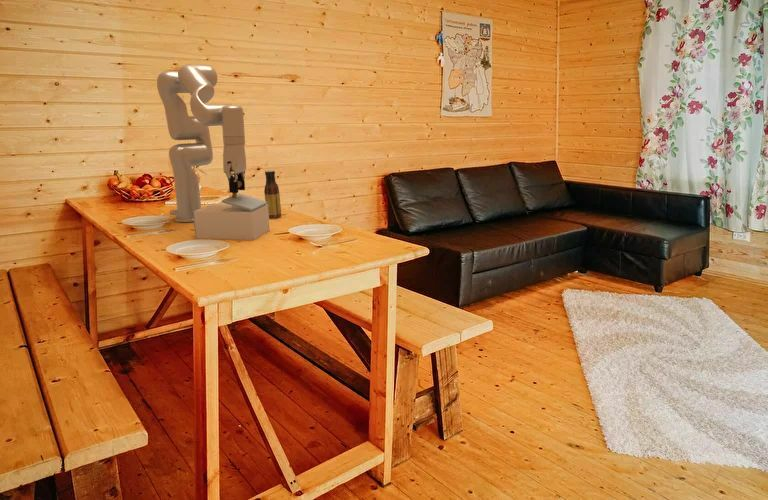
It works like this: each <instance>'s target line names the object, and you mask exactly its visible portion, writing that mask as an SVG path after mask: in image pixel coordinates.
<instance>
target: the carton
mask: <svg viewBox="0 0 768 500" xmlns="http://www.w3.org/2000/svg"><path fill="white" fill-rule="evenodd" d="M193 217H194V222H193V223H194V225H193V226H194V234H195V235H194V236H195V238H196V239H203V240H209V238H212V239H211V240H241V241H242V240H244V241H245V240H246V241H255V240H256V239H258V238H260V237H261V236H263V235H264V234H266V233H267V232H269V231H270V229H271V228H270V218H269V212H268V204H266V205H264V206H262V207H260V208H258V209H256V210H254V211H249V210H246V209H242V208H239V207H236V206H232V205H229V204H226V203H222V202H221V203H215V202H214V203H210V204H208V205H205V206H203V207H201V208H200V209H198V210H195V211H193Z"/></svg>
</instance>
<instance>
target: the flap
mask: <svg viewBox="0 0 768 500" xmlns="http://www.w3.org/2000/svg"><path fill="white" fill-rule="evenodd" d="M236 182H238V187H241V186H242V182H241V181H240V180H238V181H236ZM231 194H232V196H229V197H226V198H224V199H221V203H222V204H229V205H232V206H236V207H239V208H242V209H246V210H249V211H254V210H256V209H258V208H260V207H262V206H264V205H266V204H267V202H266V201H265V200H261V199H259V198H255V197H252V196H249V195H245V194H242V193H231Z"/></svg>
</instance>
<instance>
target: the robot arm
mask: <svg viewBox="0 0 768 500" xmlns="http://www.w3.org/2000/svg"><path fill="white" fill-rule="evenodd" d="M217 83H218V74H217V71H216V69H215V68H214V67H212V66H211V65H208V64H192V63H191V64H185V65H181V67H179V69H178V70H167V71H166V70H165V71H163V72H161V73H160V74H158V75H157V78H156V88H157V92H158V94H159V97H160V100H161V102H162V103H163V104H162V105H163V107H164V113H165V118H166V122H167V123H166V124H167V125H166V126H167V130H168V133H169V137H170V139H172V140H173V141H193V140H194V141H195V142H189V143H188V142H187V143H177V144H175V145H171V147H170V148H169V150H168V157H169V162H170V165H171V170H172V173H173V181H174V190H175V191H174V192H175V199H176V200H175V201H176V207H177V208H176V209H170V211H169V216H174V222H177V223H194V217H193V211H195V210H198V209H200V208H202V204H201V203H202V202H201V194H200V193H201V191H200V183H199V177H198V174H197V173H196V172H195V170H193V167H201V166H208V165H210V164H211V163H212V162H213V159H214V158H213V157H214V154H213V146H212V142H211V141H212V140H211V134H210V129H209V127H217V126H218V127H219V126H222V127H221V128H222V142H223V152H222V158H223V159H222V160H223V161H222V165H223V173H224V174H225V176H226V177H227V180H228V181H227V182H228V188H229V189H228V191H229V193H231V194H232V193H237V194H239V191H245V190H246V184H245V182H246V181H245V178H246V177H245V174H246V170H247V158H246V157H247V156H246V150H245V146H246V139H245V137H246V136H245V135H246V134H245V122H244V120H245V118H244V110H243V109H244V108H243V107H242V106H241V105H232V104H229V103H227V104H225V103H223V104H221V103H219V104H218V103H217V104H216V103H212V104H206V103H208V102H210V101H211V100H212V98H214V96H215V87H216V85H217ZM179 94H190V99H189V105H190V110H191V113H192V116H191V115H190V116H189V113H188V107H187V104H186V103H185V101H184V99H183V98H182V97H181V96H180V95H179ZM238 180H240V181H241V182H242V186H241V187H238V182H236V181H238Z"/></svg>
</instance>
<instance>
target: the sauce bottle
mask: <svg viewBox="0 0 768 500" xmlns="http://www.w3.org/2000/svg"><path fill="white" fill-rule="evenodd" d="M264 174H265V179H266V180H265V186H264V192H263V193H264V201H266V202H267V204H268V212H269V219H279V218H281V217H282V207H281V195H280V189H279V186H278V185H279V184H277V181H276V175H275V174H276V172H275V170H273V169H271V170H265V171H264Z"/></svg>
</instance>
